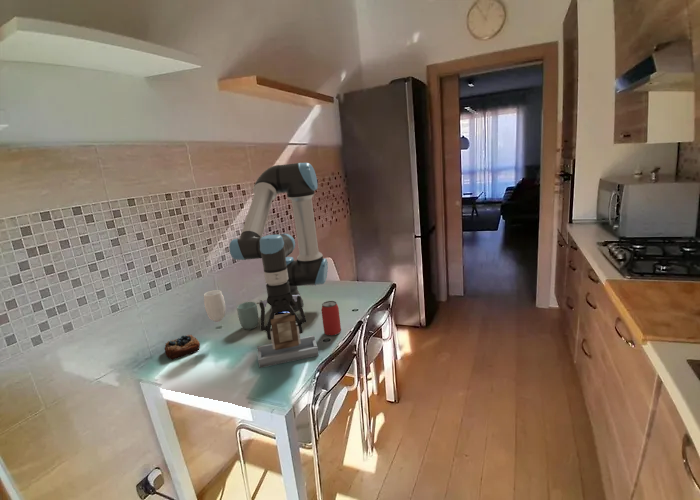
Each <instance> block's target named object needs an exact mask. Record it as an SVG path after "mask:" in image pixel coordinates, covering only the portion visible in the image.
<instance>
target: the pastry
mask: <svg viewBox="0 0 700 500" xmlns="http://www.w3.org/2000/svg"><path fill="white" fill-rule="evenodd" d="M164 346H165V347H164V353H165V355H166V357H168V359H169V360H171V361H174V360H176V359H179V358H183V357H186V356H187V355H191V354H194V353H196V352H198V350H199V351H200V347H201V343H200V341H199V340H198V339H197V338H196V336H194V335H192V334H186V335H181V336H180V337H179V338H175V339H171V340H168V341H167V342H166V343H165V345H164Z"/></svg>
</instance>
